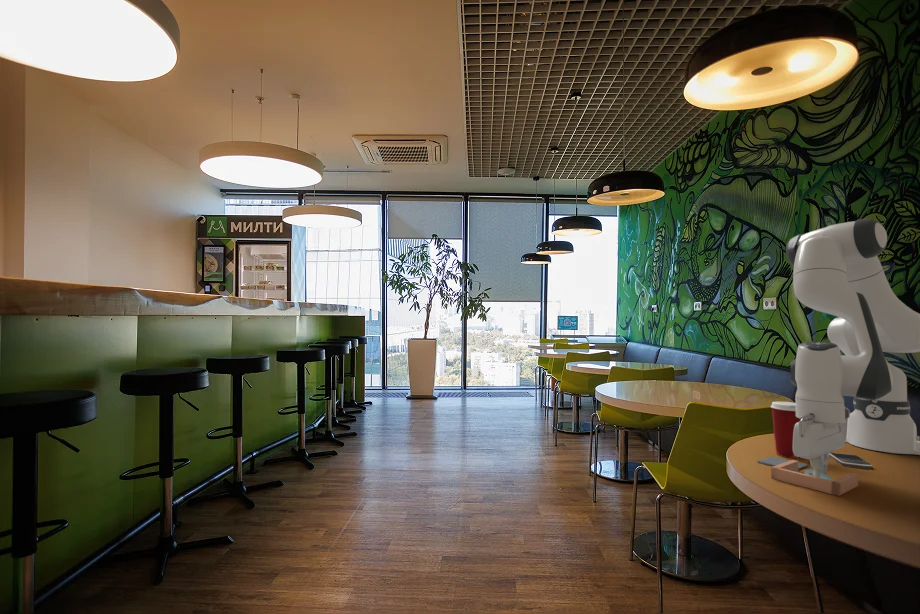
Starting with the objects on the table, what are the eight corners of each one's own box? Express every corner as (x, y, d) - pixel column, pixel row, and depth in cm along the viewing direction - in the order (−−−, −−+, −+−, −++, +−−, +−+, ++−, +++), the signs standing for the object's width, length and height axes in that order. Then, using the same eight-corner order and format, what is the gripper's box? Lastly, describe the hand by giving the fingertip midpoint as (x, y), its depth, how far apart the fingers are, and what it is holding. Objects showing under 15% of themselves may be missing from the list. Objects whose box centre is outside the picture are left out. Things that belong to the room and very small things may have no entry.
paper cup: (812, 460, 117) (811, 406, 118) (779, 458, 119) (778, 405, 119) (796, 451, 125) (795, 401, 125) (765, 450, 126) (765, 400, 127)
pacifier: (836, 483, 100) (803, 477, 104) (837, 455, 101) (803, 450, 104) (843, 493, 94) (807, 486, 97) (844, 463, 94) (808, 458, 97)
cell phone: (842, 468, 112) (842, 462, 112) (826, 456, 122) (826, 451, 123) (874, 471, 110) (874, 465, 110) (854, 459, 120) (854, 453, 120)
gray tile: (772, 457, 119) (772, 456, 119) (808, 466, 112) (808, 464, 112) (757, 462, 114) (757, 461, 114) (794, 471, 108) (794, 469, 108)
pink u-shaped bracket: (792, 469, 109) (792, 459, 109) (858, 485, 98) (857, 474, 98) (771, 478, 103) (771, 467, 103) (838, 496, 92) (838, 483, 92)
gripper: (817, 419, 95) (818, 485, 94) (852, 409, 106) (853, 468, 106) (783, 414, 100) (784, 476, 100) (820, 405, 111) (821, 461, 111)
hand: (820, 472), depth 103 cm, fingers closed
